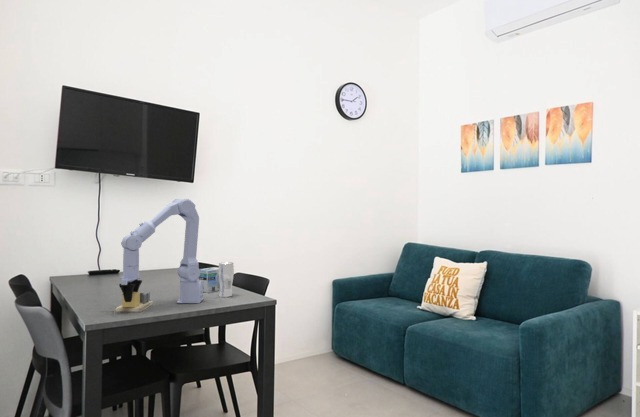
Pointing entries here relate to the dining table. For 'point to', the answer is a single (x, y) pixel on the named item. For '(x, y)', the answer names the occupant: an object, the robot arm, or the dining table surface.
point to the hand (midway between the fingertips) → (130, 300)
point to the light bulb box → (209, 279)
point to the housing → (144, 297)
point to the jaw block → (134, 301)
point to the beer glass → (225, 278)
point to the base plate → (134, 309)
